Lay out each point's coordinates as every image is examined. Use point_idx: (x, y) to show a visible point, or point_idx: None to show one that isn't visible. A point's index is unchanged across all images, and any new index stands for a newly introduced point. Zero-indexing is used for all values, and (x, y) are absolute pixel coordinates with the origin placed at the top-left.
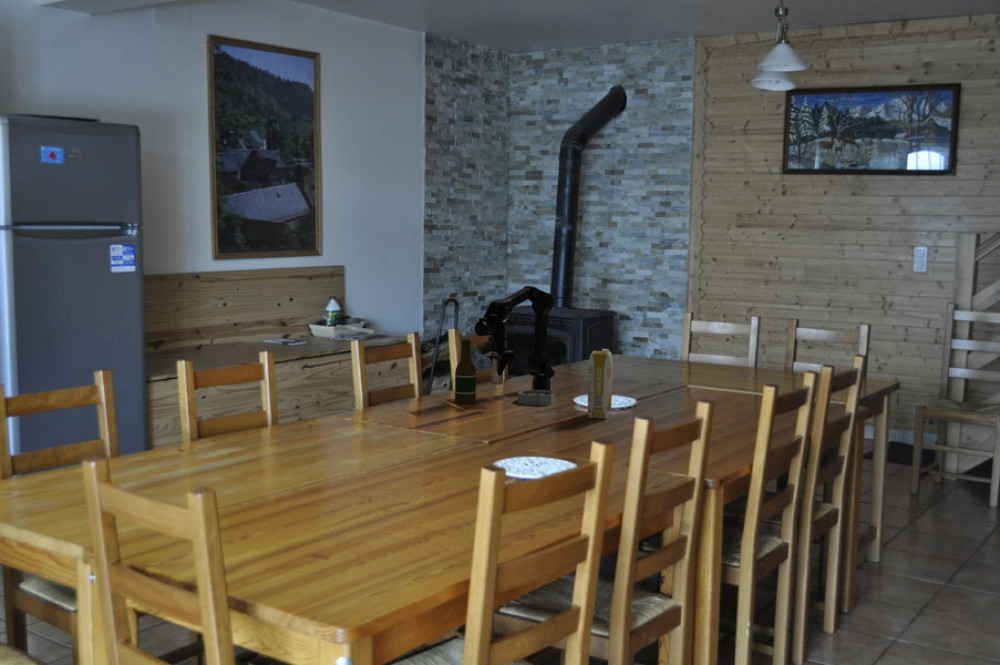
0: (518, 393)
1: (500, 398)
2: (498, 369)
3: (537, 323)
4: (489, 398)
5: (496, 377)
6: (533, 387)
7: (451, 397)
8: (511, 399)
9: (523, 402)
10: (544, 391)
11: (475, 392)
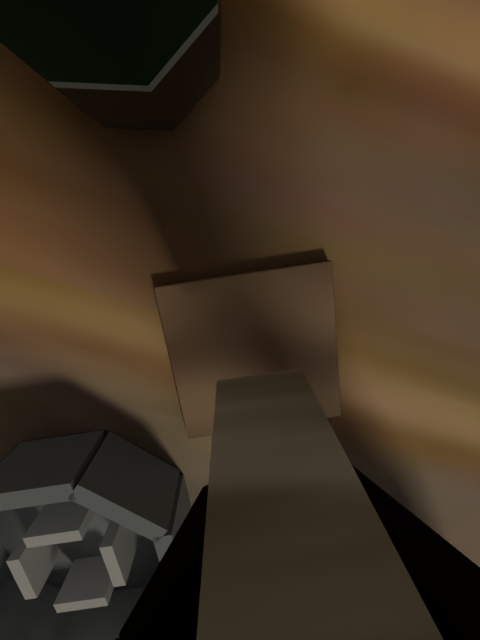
0: (57, 483)
1: (239, 370)
2: (156, 584)
3: None
4: (258, 297)
5: (213, 437)
6: None
7: (466, 4)
8: (188, 425)
9: (11, 455)
10: None
11: (49, 80)
